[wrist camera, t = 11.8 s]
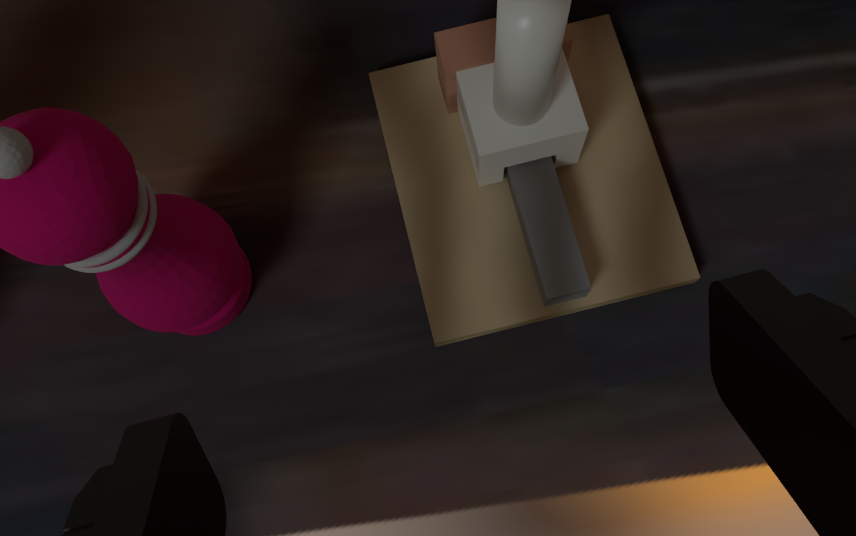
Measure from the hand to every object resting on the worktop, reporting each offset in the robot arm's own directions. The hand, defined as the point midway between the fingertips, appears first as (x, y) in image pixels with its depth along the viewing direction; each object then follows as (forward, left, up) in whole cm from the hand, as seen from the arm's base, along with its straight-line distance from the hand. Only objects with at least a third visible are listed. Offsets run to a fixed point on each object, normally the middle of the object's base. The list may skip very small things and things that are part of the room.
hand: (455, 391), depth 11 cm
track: (+7, +14, -31) cm, 35 cm away
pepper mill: (-13, +13, -31) cm, 36 cm away
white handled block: (+7, +16, -29) cm, 34 cm away
